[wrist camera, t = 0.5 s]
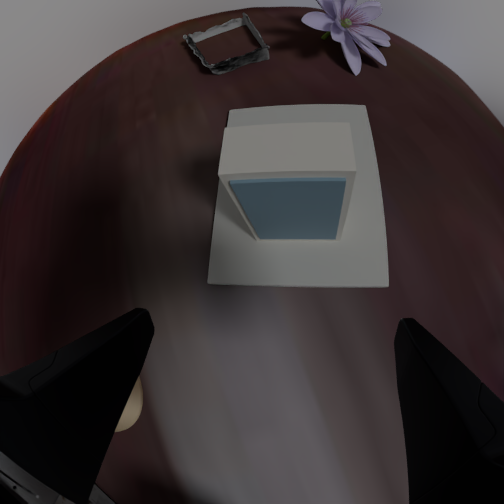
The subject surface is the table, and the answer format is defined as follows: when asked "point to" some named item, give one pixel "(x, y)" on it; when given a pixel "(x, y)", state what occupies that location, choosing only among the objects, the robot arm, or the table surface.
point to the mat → (307, 252)
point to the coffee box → (90, 498)
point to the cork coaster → (131, 408)
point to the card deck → (290, 178)
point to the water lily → (350, 28)
